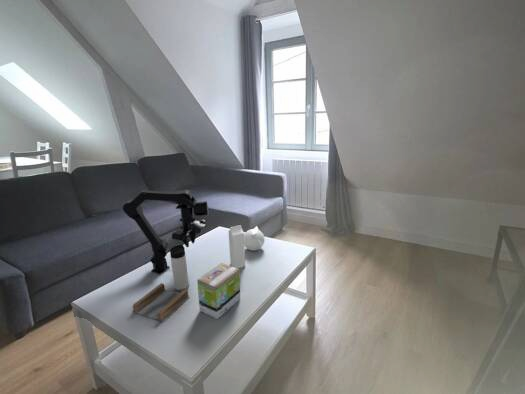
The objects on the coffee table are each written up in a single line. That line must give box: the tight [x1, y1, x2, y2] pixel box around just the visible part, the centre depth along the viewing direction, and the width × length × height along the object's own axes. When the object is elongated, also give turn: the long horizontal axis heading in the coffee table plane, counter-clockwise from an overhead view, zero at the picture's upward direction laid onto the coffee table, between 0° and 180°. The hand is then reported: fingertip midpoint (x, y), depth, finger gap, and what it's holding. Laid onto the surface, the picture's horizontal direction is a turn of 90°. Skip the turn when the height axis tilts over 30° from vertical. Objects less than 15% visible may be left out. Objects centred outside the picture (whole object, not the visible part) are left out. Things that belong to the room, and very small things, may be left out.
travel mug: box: [169, 244, 190, 292], centre depth 126 cm, size 6×7×20 cm
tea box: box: [196, 262, 241, 320], centre depth 115 cm, size 15×10×15 cm
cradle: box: [132, 282, 191, 323], centre depth 117 cm, size 16×16×3 cm
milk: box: [228, 224, 246, 269], centre depth 143 cm, size 6×6×22 cm
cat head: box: [244, 226, 265, 252], centre depth 161 cm, size 15×13×12 cm
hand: (190, 245), depth 142 cm, fingers open, 4 cm apart
